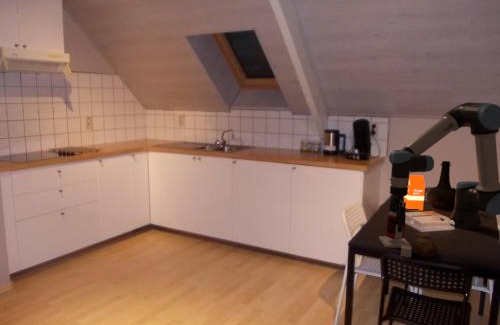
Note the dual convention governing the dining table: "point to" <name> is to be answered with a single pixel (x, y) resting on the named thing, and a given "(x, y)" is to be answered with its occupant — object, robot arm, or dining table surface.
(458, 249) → the dining table surface
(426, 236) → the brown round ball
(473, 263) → the dining table surface
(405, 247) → the grey block
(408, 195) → the orange juice
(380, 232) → the dining table surface
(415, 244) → the bread roll
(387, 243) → the plate
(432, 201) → the glass bottle
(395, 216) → the canned food
